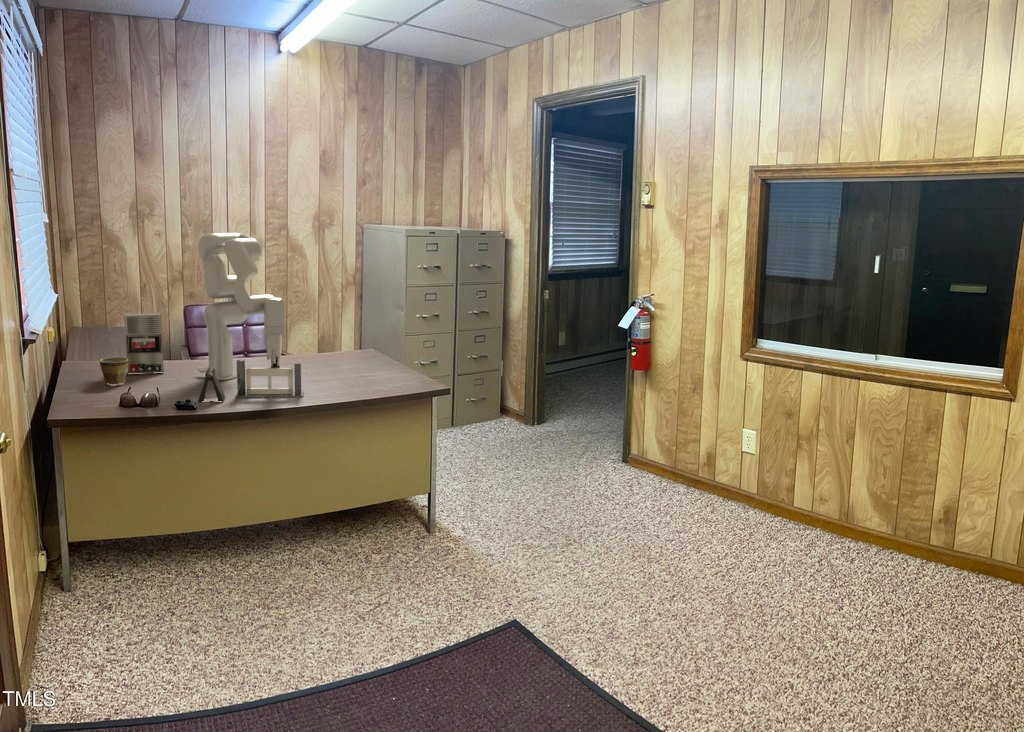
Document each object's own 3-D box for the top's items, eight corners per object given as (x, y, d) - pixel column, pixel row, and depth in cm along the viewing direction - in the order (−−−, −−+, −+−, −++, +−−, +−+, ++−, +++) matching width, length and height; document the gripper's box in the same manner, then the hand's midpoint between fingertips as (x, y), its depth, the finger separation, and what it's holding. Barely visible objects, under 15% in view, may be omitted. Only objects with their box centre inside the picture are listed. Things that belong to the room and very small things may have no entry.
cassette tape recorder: (127, 375, 317) (123, 316, 312) (128, 372, 323) (124, 313, 317) (164, 374, 323) (161, 315, 318) (164, 370, 328) (161, 313, 323)
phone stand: (225, 398, 292) (224, 367, 289) (223, 402, 286) (222, 371, 284) (199, 398, 290) (198, 367, 287) (197, 402, 284) (196, 371, 281)
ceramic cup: (135, 384, 305) (133, 359, 303) (111, 389, 297) (110, 363, 295) (114, 379, 311) (112, 355, 309) (90, 383, 303) (88, 359, 301)
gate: (246, 393, 295) (246, 368, 293) (247, 392, 297) (246, 367, 294) (292, 393, 298) (292, 368, 296) (292, 392, 300) (292, 368, 298)
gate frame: (235, 398, 292) (234, 362, 289) (237, 394, 298) (236, 358, 295) (303, 397, 298) (302, 362, 295) (303, 393, 303) (303, 359, 300)
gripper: (266, 326, 302) (266, 371, 306) (262, 333, 288) (263, 380, 292) (285, 326, 303) (286, 371, 308) (283, 333, 289) (284, 380, 293)
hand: (275, 375), depth 300 cm, fingers closed
